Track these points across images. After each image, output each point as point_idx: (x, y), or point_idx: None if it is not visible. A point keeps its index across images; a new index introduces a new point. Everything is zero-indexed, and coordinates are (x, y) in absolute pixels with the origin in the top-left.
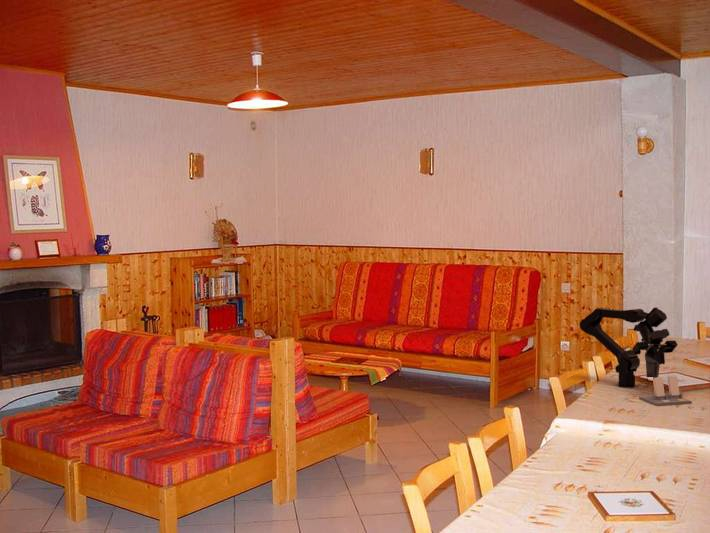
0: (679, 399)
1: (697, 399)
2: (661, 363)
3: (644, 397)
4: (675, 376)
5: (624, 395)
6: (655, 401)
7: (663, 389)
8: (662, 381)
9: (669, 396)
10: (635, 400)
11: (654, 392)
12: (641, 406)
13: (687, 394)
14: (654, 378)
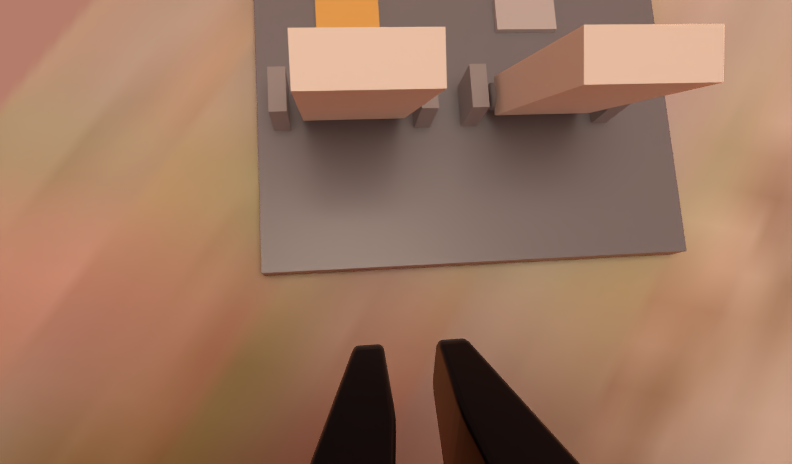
0: (354, 22)
1: (71, 117)
2: (464, 346)
3: (646, 212)
4: (322, 29)
5: (746, 449)
6: None
7: (523, 62)
8: (562, 41)
9: None
10: (726, 217)
11: (609, 107)
12: (767, 2)
13: (13, 362)
14: (716, 31)
